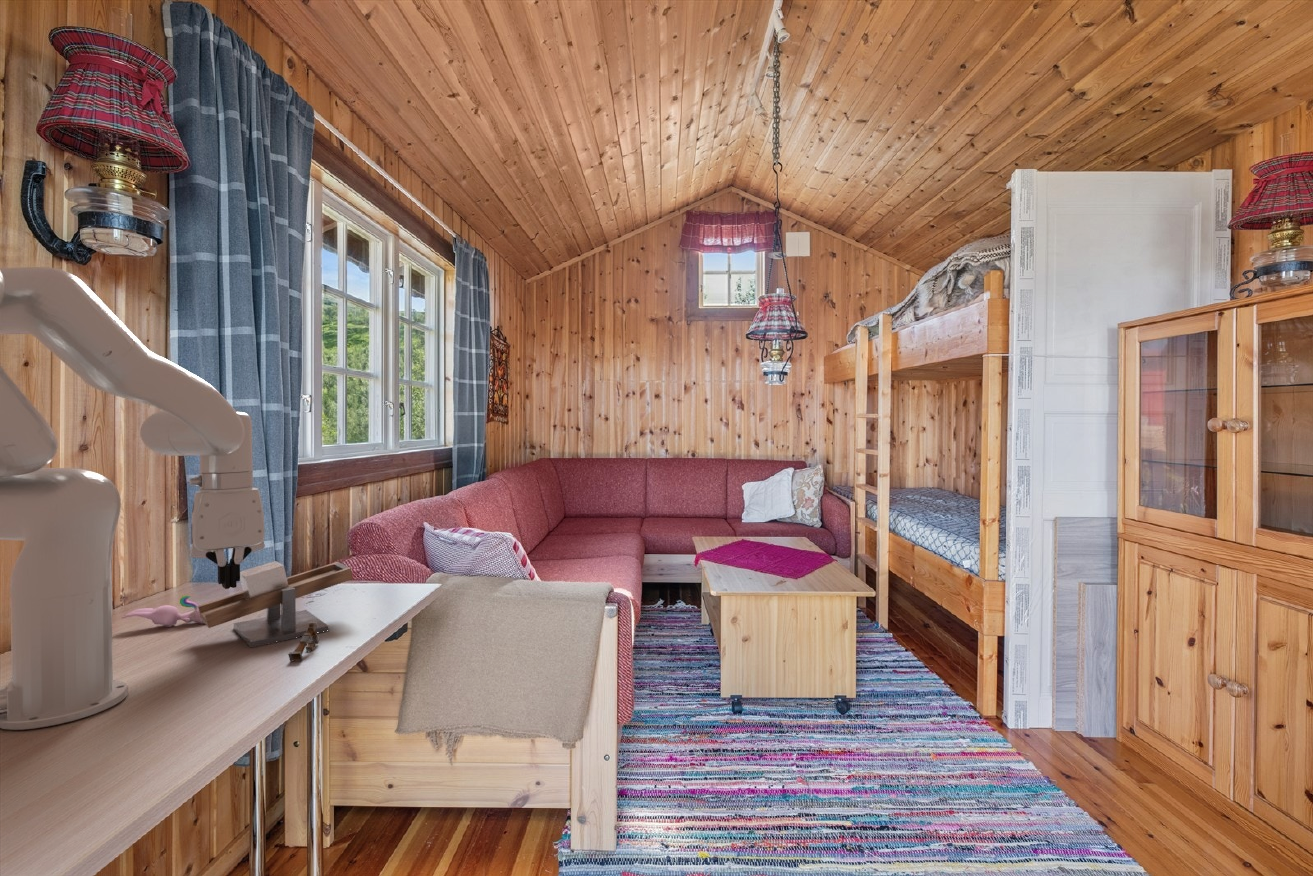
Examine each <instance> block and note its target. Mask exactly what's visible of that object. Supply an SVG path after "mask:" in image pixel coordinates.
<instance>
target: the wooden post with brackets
mask: <svg viewBox="0 0 1313 876" xmlns="http://www.w3.org/2000/svg"><path fill="white" fill-rule="evenodd" d="M316 627H317V622H316V621H313V622H310V624H309V626H308V630H307V632H306V633H305V634H304V635H303V636H302V637H301V639H300V641H299V644H298V645H297V646H296V648H295V649H294V650H293V651H291V652H289V653H288V654H287V655H288V658H289V662H290V661H291V660H304V659H303V653H304V651H305V650H306V653H309V652H308V651H310V652H311V650H313V651H314V648H316V646H317V645H318V644H319V643H320V640H319V639H320V637H319V635H318V634H317V633H316ZM291 662H292V661H291Z"/></svg>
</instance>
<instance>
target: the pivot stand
mask: <svg viewBox="0 0 1313 876" xmlns="http://www.w3.org/2000/svg"><path fill="white" fill-rule="evenodd" d="M296 600H297V599H295V588H294V587H293V588H287V589H281V604H278V605H276V606H273V607H270V608H267V609H266V617H259V618H256V619H251V620H250V619H249V620H244V621H240V622H239V621H238V622H234V623H233V630H234V631H235V632H236V633H237V634H238V635H239V636H240V638H241V639H242V640H243V642H245V641H246V642H245V643H246V644H247V645H248V647H249V648H251V647H253V648H256V647H255V646H257V647H262V646H265V645H264V644H267V645H269V644H268V643H271V644H274V643H273V642H276V641H281V642H284V641H283V640H286V641H288V640H287V639H290V640H293V639H292V638H295V639H297V638H296V637H300V636H303V635H304V634H305V633H306V632H307V630H308V626H309V624H310V622H313V621H316V622H317V627H316V633H317V632H323V631H327V630H329V629H330V627H329V625H328V624H327V623H325V622H324V621H323V620H321V619H320V618H318V617H317V616H315V615H314V614H312V612H310V611H308V610H307V609H303V610H299V611H297V610H296V606H297V605H296ZM329 631H330V630H329ZM323 633H324V632H323ZM300 638H301V637H300ZM276 643H277V642H276ZM261 645H262V646H261Z"/></svg>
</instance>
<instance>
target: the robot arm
mask: <svg viewBox="0 0 1313 876" xmlns="http://www.w3.org/2000/svg"><path fill="white" fill-rule="evenodd" d="M0 335H31V336H33V337H34V338H35V339H36V340H38V342H40V343H41V344H42V345H43V346H44V347H45V348H47V349H48V351H50V352H51V353H52V354H53V355H55V356H56V357H57V358H58V359H59V360H61V361H62V363H64V364H65V365H66V366H67V367H68V368H69V369H70V370H71V371H72V372H73V373H75V374H76V375H77V376H78V377H79V378H80V379H81V380H83V382H85V383H86V384H87V385H88V386H90V387H92V388H94V389H96V390H99V391H101V392H104V393H106V394H110V395H113V396H117V397H119V398H122V399H127V400H131V401H135V402H138V403H142V404H145V405H149V406H152V407H154V408H157V409H159V411H157V412H155V413H152V414H151V415H149V416H148V417H147V418H145V420H144V421H143V422H142V424H141V427H140V429H139V430H140V432H139V433H140V439H141V441H142V443H143V445H145V447H147V448H148V449H149V450H151V451H152V452H155V453H157V454H159V455H163V456H170V457H171V456H174V457H179V456H180V457H181V456H182V457H183V456H184V457H185V456H186V457H190V456H191V457H193V456H199V473H198V474H197V476H194V477H189V480H188V483H189V486H196V487H199V489H200V491H198V490H197V491H195V493H194V497H193V502H192V503H193V504H192V510H191V511H192V512H191V524H190V525H191V526H190V542H191V547H190V551H189V556H190V557H191V558H193V559H208V560H210V562H212V563H214V564H215V565H216V566H217V583H218V585H221V587H222V588H223V589H225V590H228V589H230V588H232V589H233V588H237V587H238V585H237V583H238V582H241V581H240V572H241V564H242V563H243V561H244V560H245V559H246V558H247V556H249V555H250V554H251V553H254V552H257V551H260V550H263V549H264V548H265V547H266V545H265V542H264V541H265V534H266V531H265V529H266V528H265V518H264V509H263V502H262V501H263V500H262V497H261V493H260V489H259V488H257V487H254V477H253V476H254V472H253V471H254V469H253V467H254V466H253V463H254V462H253V424H252V423H253V421H252V418H251V415H250V414H248V413H246V412H244V411H243V412H242V411H236V409H235V408H234V407H233V406H232V405H231V403H230V402H229V401H228V400H227V399H226V398H225V397H224V396H223V395H222V394H221V393H220V392H219V391H218V390H217V389H216V388H215V387H214V386H213V385H211V383H208V382H207V381H205V380H204V379H203V378H201V377H199V376H197V374H194V373H192V372H190V371H188V370H187V369H185V368H184V367H182V366H179V365H178V364H176V363H174V362H172V361H170V360H168V359H167V358H165V357H163V356H160V355H159V354H157V353H154V352H153V351H151V350H150V349H148V348H147V346H145V345H144V343H142V342H141V340H140V339H139V338H138V337H137V336H136V335H135V334H134V333H133V332H132V331H131V330H130V329H129V328H128V327H127V326H126V325H125V324H124V322H123V321H121V320H120V319H119V317H118V316H117V315H116V314H114V312H113V311H112V310H111V309H110V308H109V307H108V306H107V305H106V304H105V303H104V302H103V300H101V298H100V297H98V296H97V295H96V293H95V292H94V291H93V290H92V288H90V287H89V286H87V284H86V283H85V282H84V281H82V280H81V279H80V278H79V277H78V276H76V275H75V274H72V273H71V272H68V271H66V270H64V269H60V268H55V267H49V266H48V267H47V266H26V267H25V266H23V267H22V266H20V267H0ZM58 447H59V446H58V439H57V435H56V434H55V432H54V430H53V428H52V427H51V425H50V424H49V423H48V421H47V420H46V419H45V418H44V416H43V415H42V414H41V412H40V411H39V410H38V409H37V408H36V407H35V406H34V404H33V403H32V402H31V401H30V400H29V398H28V397H27V396H26V395H25V394H24V393H23V391H22V390H21V389H20V388H19V386H18V385H17V384H16V383H15V382H14V380H13V379H12V378H11V377H10V376H9V374H8V373H7V371H6V370H5V369H4V367H3V366H2V365H1V363H0V541H2V540H3V541H24V544H23V546H22V549H21V550H20V553H19V555H18V556H17V559H16V560H15V563H14V566H13V568H12V571H11V575H10V586H9V587H10V588H9V592H10V594H9V595H10V643H11V644H10V647H11V649H10V651H11V653H10V654H11V657H10V659H11V661H10V662H11V678H9V679H8V683H7V684H6V685H2V686H0V729H2V730H9V731H12V730H13V731H19V730H20V731H23V730H32V729H33V730H34V729H40V728H46V727H51V726H52V727H53V726H56V725H62V724H65V723H70V722H74V721H77V720H81V719H83V718H88V717H90V716H93V715H96V714H98V713H101V712H103V711H106V710H108V709H109V708H112V707H114V706H115V705H117V704H119V703H121V702H122V701H123V700H124V699H125V698H126V697H127V696H128V694H129V685H128V683H126V682H124V681H122V680H121V681H120V680H118V679H117V680H115V679H114V668H113V667H114V666H113V665H114V662H113V661H114V660H113V659H114V657H113V656H114V655H113V654H114V653H113V649H114V647H113V644H114V643H113V582H112V576H113V575H112V571H113V570H112V569H113V568H112V561H113V547H114V540H115V535H116V530H117V526H118V523H119V519H120V513H121V509H122V508H121V507H122V503H121V501H122V499H121V496H120V492H119V490H118V488H117V486H116V485H115V484H114V483H113V481H112V480H110V479H109V478H107V477H106V476H104V475H102V474H100V473H98V472H95V471H93V470H88V469H82V468H72V467H46V466H47V465H49V464H50V463H51V462H52V461H53V460H54V459H55V457H56V455H57V451H58ZM229 549H232V551H231V556H230V559H229V562H228V561H227V559H226V555H225V550H229Z"/></svg>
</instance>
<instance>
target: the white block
mask: <svg viewBox="0 0 1313 876" xmlns="http://www.w3.org/2000/svg"><path fill="white" fill-rule="evenodd" d="M287 577H288V576H287V573H286V569H285V565H284V564H282V563H280V562H278V561H277V560H274V561H271V562H268V563H265V564H262V565H258V566H255V567H251V568H248V569H245V570H240V581H239V582H240V584H241V589H242V592H243V594H244V598H245V599H246V600H250V599H254V598H257V597H260V596H263V595H266V594H269V593H272V592H275V591H278V590H281V589H284V588H287V587H289V586H288V581H287Z"/></svg>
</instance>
